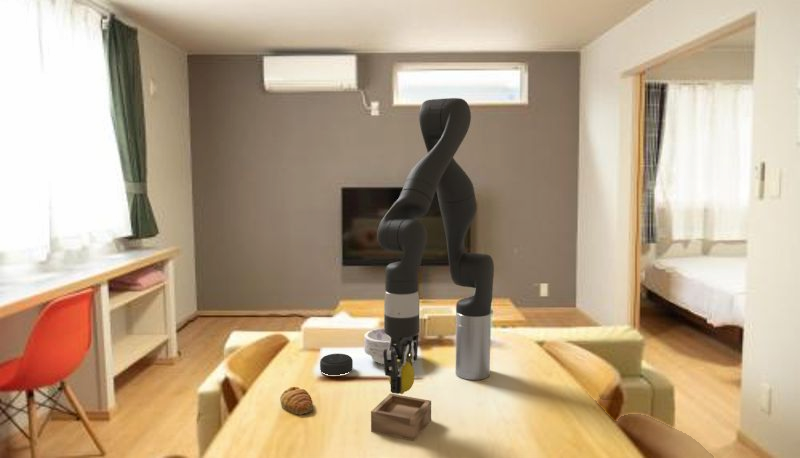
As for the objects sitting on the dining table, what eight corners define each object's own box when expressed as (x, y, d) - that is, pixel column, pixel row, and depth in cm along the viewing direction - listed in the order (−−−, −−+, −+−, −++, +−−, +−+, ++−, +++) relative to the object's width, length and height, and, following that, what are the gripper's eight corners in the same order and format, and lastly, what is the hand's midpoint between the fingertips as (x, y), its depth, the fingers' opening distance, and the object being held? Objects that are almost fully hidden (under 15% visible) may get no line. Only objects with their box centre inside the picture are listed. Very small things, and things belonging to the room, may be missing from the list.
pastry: (320, 411, 128) (320, 396, 128) (293, 419, 124) (292, 403, 124) (303, 397, 136) (302, 382, 135) (277, 404, 132) (276, 389, 131)
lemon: (411, 400, 117) (411, 363, 116) (386, 398, 118) (386, 362, 117) (416, 389, 122) (416, 355, 121) (391, 387, 123) (391, 353, 122)
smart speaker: (313, 371, 152) (313, 357, 152) (339, 363, 158) (339, 350, 158) (332, 381, 146) (332, 366, 145) (359, 372, 152) (358, 358, 151)
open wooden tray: (390, 412, 127) (390, 393, 127) (431, 420, 123) (431, 400, 123) (371, 431, 118) (370, 411, 118) (414, 440, 114) (414, 419, 114)
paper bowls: (392, 348, 172) (392, 323, 171) (427, 360, 161) (427, 334, 160) (353, 359, 161) (353, 333, 160) (388, 374, 150) (387, 346, 149)
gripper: (404, 322, 110) (404, 403, 112) (429, 305, 123) (429, 378, 125) (371, 318, 113) (371, 397, 115) (399, 302, 126) (399, 373, 128)
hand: (401, 387), depth 120 cm, fingers closed on lemon, 5 cm apart
